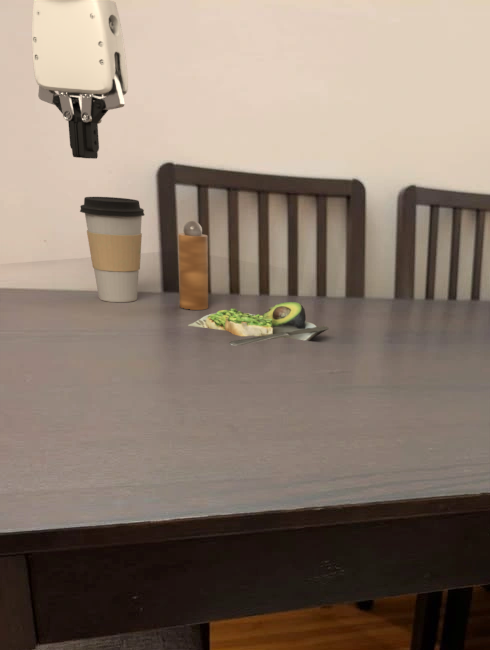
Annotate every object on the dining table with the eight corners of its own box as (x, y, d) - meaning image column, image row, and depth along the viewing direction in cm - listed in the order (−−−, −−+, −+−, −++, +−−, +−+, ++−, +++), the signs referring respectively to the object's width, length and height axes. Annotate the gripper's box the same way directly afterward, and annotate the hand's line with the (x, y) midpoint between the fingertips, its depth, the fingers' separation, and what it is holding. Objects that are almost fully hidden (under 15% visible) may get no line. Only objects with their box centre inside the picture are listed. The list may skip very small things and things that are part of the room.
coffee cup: (160, 300, 118) (157, 202, 112) (114, 307, 111) (107, 202, 105) (120, 291, 123) (115, 196, 117) (73, 297, 115) (65, 196, 109)
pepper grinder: (175, 307, 114) (172, 220, 109) (186, 303, 118) (185, 218, 113) (201, 311, 113) (200, 223, 108) (212, 306, 117) (211, 221, 112)
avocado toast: (296, 368, 88) (298, 330, 86) (158, 349, 90) (157, 312, 89) (334, 335, 105) (336, 303, 103) (217, 321, 108) (217, 289, 106)
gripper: (149, -6, 86) (154, 163, 93) (33, -13, 88) (48, 153, 95) (117, -21, 79) (126, 162, 86) (-7, -28, 81) (12, 152, 89)
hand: (85, 157), depth 91 cm, fingers closed
